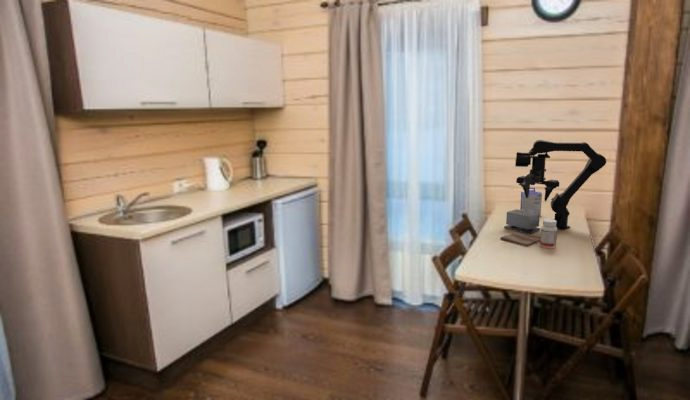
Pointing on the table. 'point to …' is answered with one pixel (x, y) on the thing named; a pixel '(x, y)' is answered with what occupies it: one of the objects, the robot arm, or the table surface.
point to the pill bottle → (548, 234)
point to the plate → (521, 238)
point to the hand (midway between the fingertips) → (536, 199)
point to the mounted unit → (522, 221)
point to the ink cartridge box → (531, 201)
